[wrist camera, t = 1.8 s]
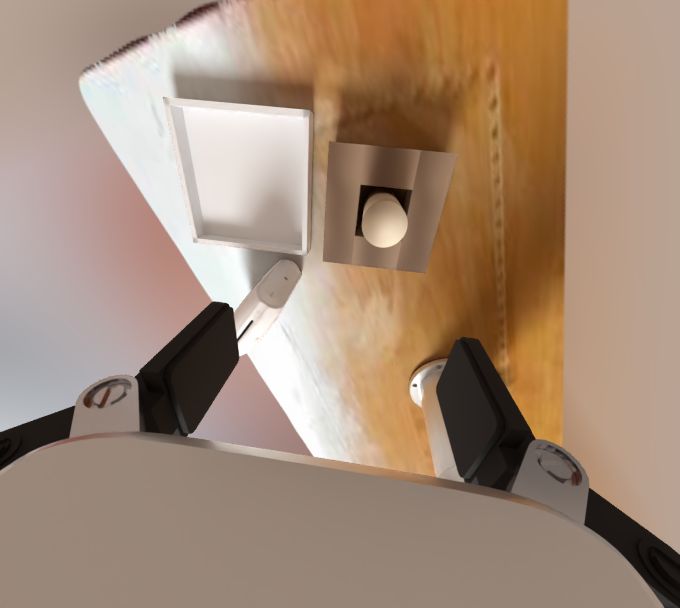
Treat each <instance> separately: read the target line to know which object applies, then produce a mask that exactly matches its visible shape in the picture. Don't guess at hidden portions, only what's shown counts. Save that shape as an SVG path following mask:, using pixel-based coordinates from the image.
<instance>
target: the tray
mask: <svg viewBox="0 0 680 608" xmlns="http://www.w3.org/2000/svg"><path fill="white" fill-rule="evenodd" d="M163 101H164V105H165V110H166V115H167V120H168V124H169V129H170V134H171V138H172V143H173V148H174V153H175V157H176V162H177V167H178V171H179V176H180V181H181V185H182V190H183V195H184V200H185V204H186V209H187V214H188V218H189V223H190V228H191V233H192V237H193V242H195V243H203V244H212V245H220V246H229V247H237V248H246V249H254V250H263V251H271V252H280V253H288V254H296V255H305V256H307V254H308V253H309V251H310V249H311V211H312V172H313V133H314V113H313V112H311V111H310V110H303V109H292V108H281V107H270V106H259V105H248V104H237V103H226V102H215V101H204V100H193V99H181V98H170V97H163Z"/></svg>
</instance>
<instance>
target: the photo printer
mask: <svg viewBox="0 0 680 608" xmlns="http://www.w3.org/2000/svg"><path fill="white" fill-rule="evenodd" d="M301 276H302V273H301V272H300V269H299V267H298V266H297V265H296V264H295V263H294V262H292V261H290V260H284V259H281V260H279V261H278V262H277V263H276V264H275V265H274V266H273V267H272V268H271V269H270V270H269V271H268V272H267V273H266V275H265V276H264V277H263V278H262V279H261V280H260V281H259V283H258V284H257V285H256V286H255V287H254V288H253V289H252V291H251V292H250V293H249V294H248V295H247V296H246V298H245V299H244V300H243V301H242V303H241V304H240V305H239V307H238V308H237V309H236V311H235V312H234V319H235V327H236V334H237V341H238V349H239V356H241V355H243V354H245V353H247V352H249V351H250V350H251V349H252V348H253V347H254V346H255V345H256V344H257V343H258V342H259V341H260V340H261V339H262V337H263V336H264V335H265V334H266V333H267V331H268V330H269V329H270V328H271V326H272V325H273V324H274V322H275V321H276V319H277V318H278V317H279V315H280V313H281V311H282V310H283V308H284V306H285V304H286V303H287V301H288V299H289V297H290V296H291V294H292V292H293V290H294V289H295V287H296V285H297V284H298V282H299V280H300V278H301Z"/></svg>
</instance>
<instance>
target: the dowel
mask: <svg viewBox="0 0 680 608" xmlns="http://www.w3.org/2000/svg"><path fill="white" fill-rule="evenodd" d="M407 226H408V220H407V216H406V213H405V212H404V210H403V208H402V207H401V205H400V203H399V202H398V200H397V198H396V197H395V195H394V194H393V193H392V192H391V191H390V190H388V189H385V188H378V189H375V190H373V191H372V192H370V193H369V195H368V196H367V197H366V200H365V203H364V210H363V219H362V232H363V235H364V237H365V238H366V240H367V241H368V242H369V243H371V244H372V245H374V246H377V247H382V248H385V247H390V246H393V245H395V244H397V243H398V242H399V241H400V240H401V239H402V238H403V237H404V235H405V233H406V231H407Z"/></svg>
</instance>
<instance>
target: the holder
mask: <svg viewBox="0 0 680 608" xmlns="http://www.w3.org/2000/svg"><path fill="white" fill-rule="evenodd" d="M457 156H458V154H456V153H445V152H435V151H425V150H414V149H404V148H393V147H383V146H372V145H362V144H352V143H341V142H331V141H329V153H328V172H327V192H326V211H325V230H324V249H323V261H325V262H333V263H342V264H350V265H358V266H367V267H375V268H384V269H392V270H401V271H409V272H417V273H425V272H426V268H427V265H428V261H429V258H430V254H431V250H432V247H433V243H434V239H435V236H436V232H437V229H438V225H439V221H440V218H441V214H442V211H443V207H444V203H445V200H446V196H447V192H448V189H449V185H450V182H451V178H452V174H453V171H454V167H455V163H456V160H457ZM361 185H370V186H379V187H389V188H399V189H406V190H405V196H404V201H403V206H402V208H403V210H404V212H405V213H406V216H407V220H408V226H407V231H406V233H405V235H404V237H403V238H402V239H401V240H400V241H399V242H398V243H397V244H395V245H393V246H390V247H385V248H382V247H377V246H374V245H372V244H371V243H369V242H368V241H367V240H366V238H365V237H364V235H363V232H362V226H359V225H357V220H358V211H359V203H360V194H361Z"/></svg>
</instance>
